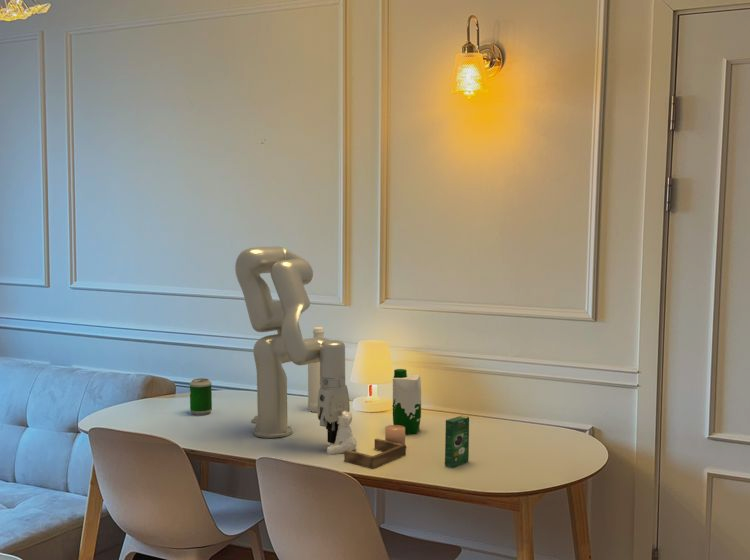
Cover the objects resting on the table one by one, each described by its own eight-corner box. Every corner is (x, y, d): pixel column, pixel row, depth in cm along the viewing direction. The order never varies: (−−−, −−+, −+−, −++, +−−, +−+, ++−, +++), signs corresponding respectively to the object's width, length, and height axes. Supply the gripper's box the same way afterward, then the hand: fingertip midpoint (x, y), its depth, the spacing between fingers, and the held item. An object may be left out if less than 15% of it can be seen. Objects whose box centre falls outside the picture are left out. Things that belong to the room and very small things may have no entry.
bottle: (304, 408, 271) (304, 326, 269) (325, 406, 274) (324, 325, 272) (312, 413, 264) (311, 329, 262) (333, 411, 267) (332, 328, 265)
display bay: (344, 461, 212) (344, 450, 211) (377, 448, 224) (377, 438, 223) (373, 468, 205) (373, 458, 205) (405, 455, 217) (405, 444, 217)
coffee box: (461, 459, 213) (461, 414, 212) (469, 461, 211) (470, 416, 210) (444, 466, 207) (444, 419, 206) (452, 468, 205) (452, 421, 204)
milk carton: (395, 426, 247) (395, 367, 245) (422, 428, 245) (422, 368, 244) (390, 434, 238) (390, 372, 237) (418, 435, 237) (418, 373, 235)
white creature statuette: (330, 445, 227) (330, 406, 226) (358, 445, 226) (358, 406, 225) (326, 454, 218) (325, 414, 217) (355, 455, 217) (355, 415, 216)
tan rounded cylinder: (381, 447, 224) (381, 428, 224) (392, 443, 229) (392, 423, 229) (397, 451, 221) (397, 431, 220) (408, 446, 225) (409, 427, 225)
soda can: (216, 412, 266) (215, 379, 265) (201, 417, 259) (200, 383, 258) (201, 409, 270) (200, 377, 269) (185, 414, 263) (185, 380, 263)
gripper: (325, 388, 214) (326, 450, 216) (358, 379, 226) (358, 438, 228) (306, 384, 219) (307, 446, 220) (339, 376, 231) (339, 434, 232)
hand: (333, 442), depth 224 cm, fingers closed
